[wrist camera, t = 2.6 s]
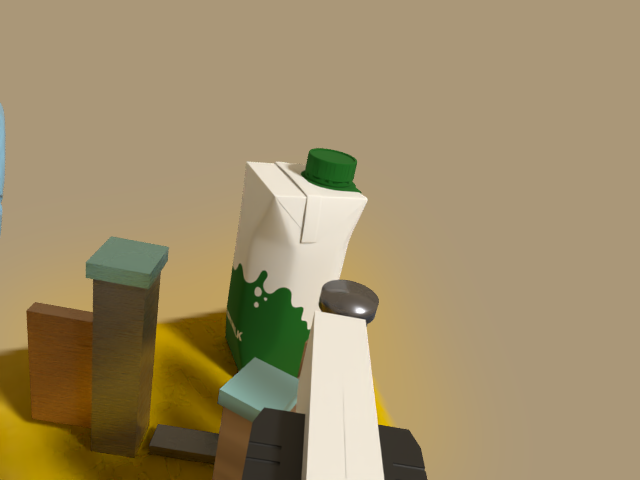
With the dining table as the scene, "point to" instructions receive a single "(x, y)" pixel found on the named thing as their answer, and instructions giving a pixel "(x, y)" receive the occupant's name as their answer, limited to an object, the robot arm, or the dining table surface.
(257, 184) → the milk carton
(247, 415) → the gate
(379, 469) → the robot arm
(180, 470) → the dining table surface
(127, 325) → the gate posts
